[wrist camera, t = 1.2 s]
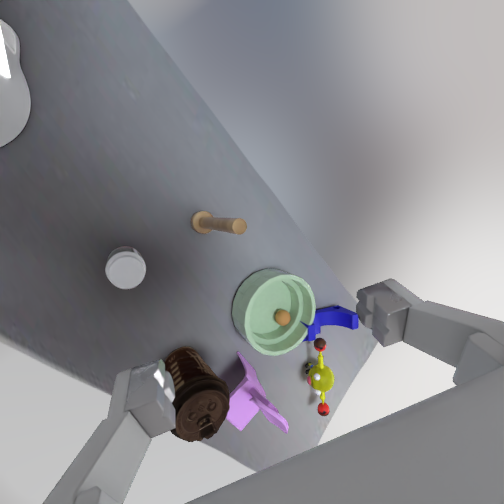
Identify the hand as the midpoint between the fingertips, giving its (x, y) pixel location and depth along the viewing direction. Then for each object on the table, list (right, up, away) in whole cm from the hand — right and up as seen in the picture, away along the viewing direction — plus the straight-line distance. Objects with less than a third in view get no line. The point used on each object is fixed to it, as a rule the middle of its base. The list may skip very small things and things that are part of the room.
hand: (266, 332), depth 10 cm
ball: (+5, -10, +40) cm, 42 cm away
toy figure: (+12, -23, +48) cm, 54 cm away
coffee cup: (-13, -16, +35) cm, 40 cm away
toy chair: (-5, -21, +39) cm, 45 cm away
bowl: (+2, -7, +40) cm, 41 cm away
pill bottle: (-19, +2, +29) cm, 35 cm away
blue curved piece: (+13, -12, +46) cm, 49 cm away
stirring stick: (-9, +8, +33) cm, 35 cm away
